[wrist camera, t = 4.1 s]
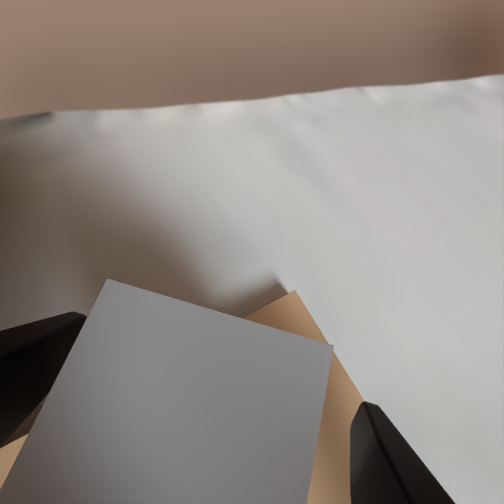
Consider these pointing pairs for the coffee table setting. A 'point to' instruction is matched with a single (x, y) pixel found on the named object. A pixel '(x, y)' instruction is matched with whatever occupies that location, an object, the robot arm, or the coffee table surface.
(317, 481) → the label board
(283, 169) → the coffee table surface
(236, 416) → the slate post
